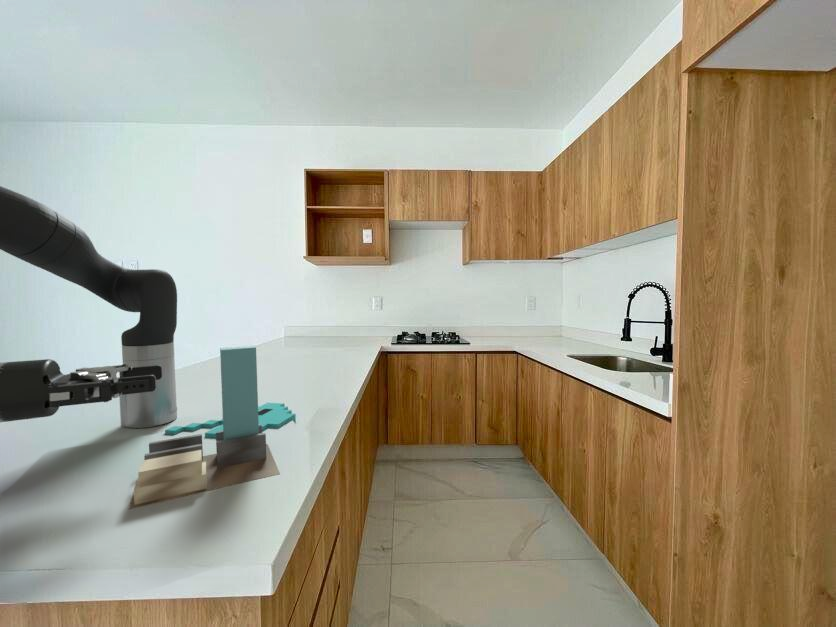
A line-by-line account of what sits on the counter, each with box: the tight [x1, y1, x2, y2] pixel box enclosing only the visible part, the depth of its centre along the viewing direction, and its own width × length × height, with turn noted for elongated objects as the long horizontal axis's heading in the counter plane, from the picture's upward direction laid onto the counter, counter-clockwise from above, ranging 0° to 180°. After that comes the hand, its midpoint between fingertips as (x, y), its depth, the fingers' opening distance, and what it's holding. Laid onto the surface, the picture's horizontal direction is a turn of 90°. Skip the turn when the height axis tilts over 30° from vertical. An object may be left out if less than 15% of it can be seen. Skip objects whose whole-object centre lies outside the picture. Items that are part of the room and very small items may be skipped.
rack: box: [128, 424, 281, 510], centre depth 57 cm, size 18×13×5 cm
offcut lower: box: [133, 462, 207, 505], centre depth 52 cm, size 8×4×2 cm, turn 119°
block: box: [219, 345, 259, 440], centre depth 61 cm, size 5×2×18 cm, turn 122°
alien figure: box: [164, 402, 297, 439], centre depth 80 cm, size 20×2×20 cm
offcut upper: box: [137, 450, 202, 487], centre depth 52 cm, size 7×4×2 cm, turn 119°
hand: (158, 376), depth 56 cm, fingers open, 8 cm apart
